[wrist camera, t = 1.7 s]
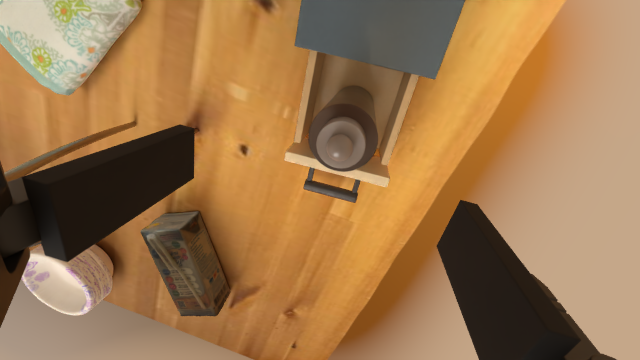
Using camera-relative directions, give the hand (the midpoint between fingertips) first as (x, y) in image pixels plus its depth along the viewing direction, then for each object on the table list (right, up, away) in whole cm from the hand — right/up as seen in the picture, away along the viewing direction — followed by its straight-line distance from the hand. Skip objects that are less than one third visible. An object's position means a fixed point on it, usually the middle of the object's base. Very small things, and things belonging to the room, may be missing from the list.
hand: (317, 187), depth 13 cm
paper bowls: (-48, -16, +44) cm, 67 cm away
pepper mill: (+4, +9, +20) cm, 23 cm away
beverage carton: (-23, -14, +38) cm, 46 cm away
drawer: (+4, +9, +22) cm, 24 cm away
